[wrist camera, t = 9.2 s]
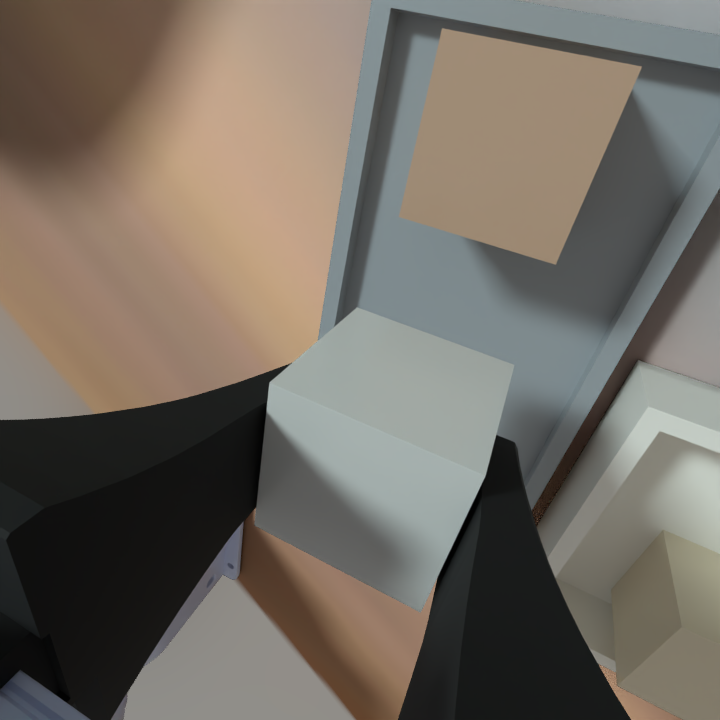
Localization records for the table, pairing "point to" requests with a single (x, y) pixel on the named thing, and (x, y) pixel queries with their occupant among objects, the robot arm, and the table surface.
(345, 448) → the light grey cube
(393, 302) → the parts tray
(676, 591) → the cream cube
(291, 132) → the table surface
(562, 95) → the tan cube
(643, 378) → the dish
